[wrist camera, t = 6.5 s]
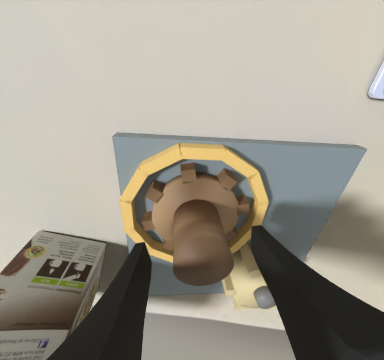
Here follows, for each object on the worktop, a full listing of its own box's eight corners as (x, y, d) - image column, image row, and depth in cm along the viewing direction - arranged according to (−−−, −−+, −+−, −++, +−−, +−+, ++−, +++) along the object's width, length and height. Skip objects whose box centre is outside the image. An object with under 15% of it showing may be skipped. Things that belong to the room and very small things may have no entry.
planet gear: (244, 153, 13) (283, 196, 8) (244, 235, 17) (270, 295, 13) (129, 172, 13) (102, 226, 8) (157, 249, 18) (150, 315, 13)
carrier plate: (355, 145, 15) (431, 172, 10) (282, 282, 24) (306, 327, 20) (116, 132, 13) (86, 159, 8) (136, 287, 22) (126, 339, 18)
